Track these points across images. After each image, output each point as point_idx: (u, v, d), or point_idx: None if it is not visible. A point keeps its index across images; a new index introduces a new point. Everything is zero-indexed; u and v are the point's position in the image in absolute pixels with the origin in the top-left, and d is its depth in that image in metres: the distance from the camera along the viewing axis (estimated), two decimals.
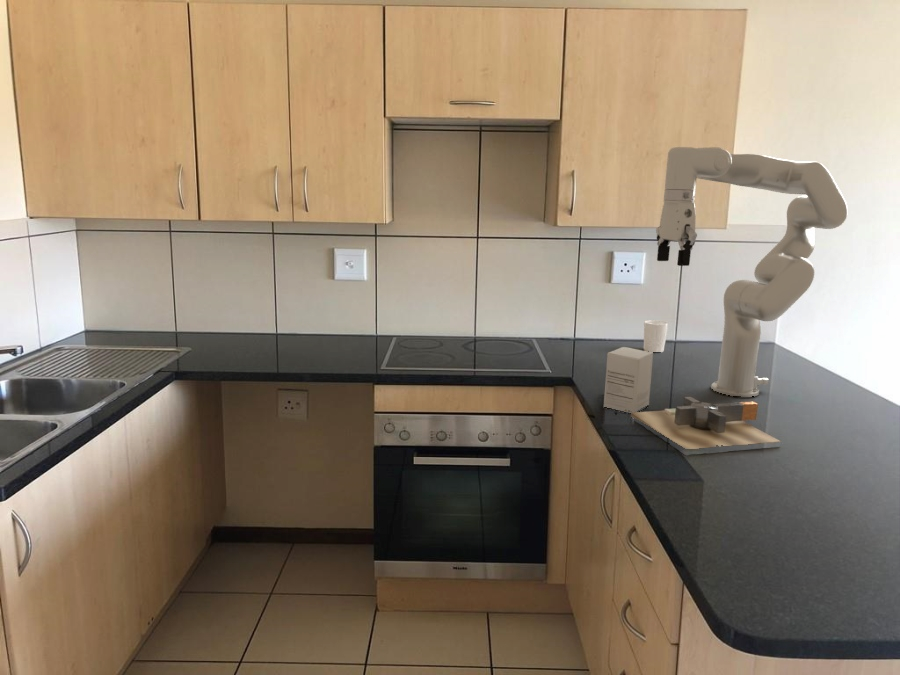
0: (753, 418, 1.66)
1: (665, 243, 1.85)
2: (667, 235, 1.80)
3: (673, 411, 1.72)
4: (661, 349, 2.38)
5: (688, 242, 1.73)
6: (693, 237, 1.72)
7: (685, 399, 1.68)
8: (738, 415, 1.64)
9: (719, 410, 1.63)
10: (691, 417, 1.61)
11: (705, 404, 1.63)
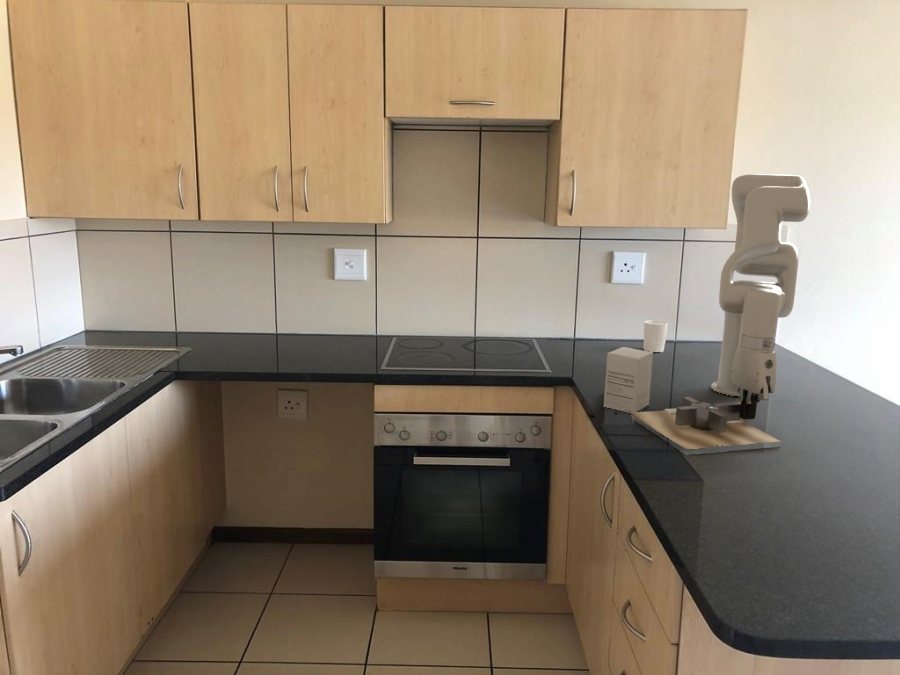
0: None
1: None
2: (742, 384, 1.61)
3: (673, 411, 1.72)
4: (661, 349, 2.38)
5: (755, 397, 1.58)
6: None
7: (684, 399, 1.68)
8: (737, 414, 1.65)
9: (719, 410, 1.63)
10: (691, 417, 1.61)
11: (705, 404, 1.64)
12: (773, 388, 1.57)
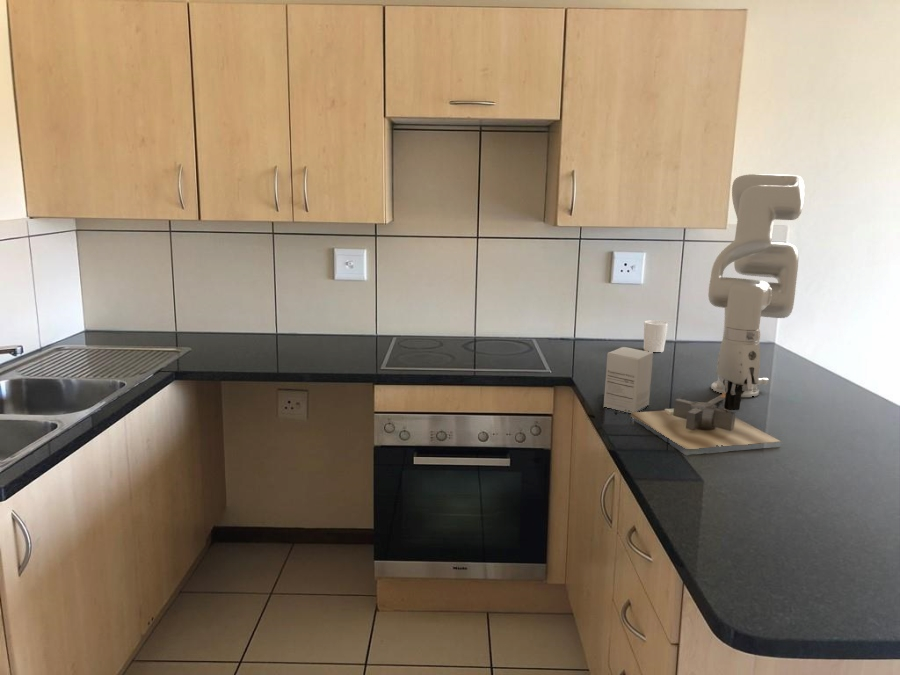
0: None
1: None
2: (727, 375, 1.65)
3: (673, 411, 1.72)
4: (661, 349, 2.38)
5: (740, 388, 1.63)
6: (746, 390, 1.62)
7: (677, 402, 1.66)
8: (722, 409, 1.69)
9: None
10: (699, 419, 1.59)
11: (702, 404, 1.64)
12: (757, 380, 1.61)
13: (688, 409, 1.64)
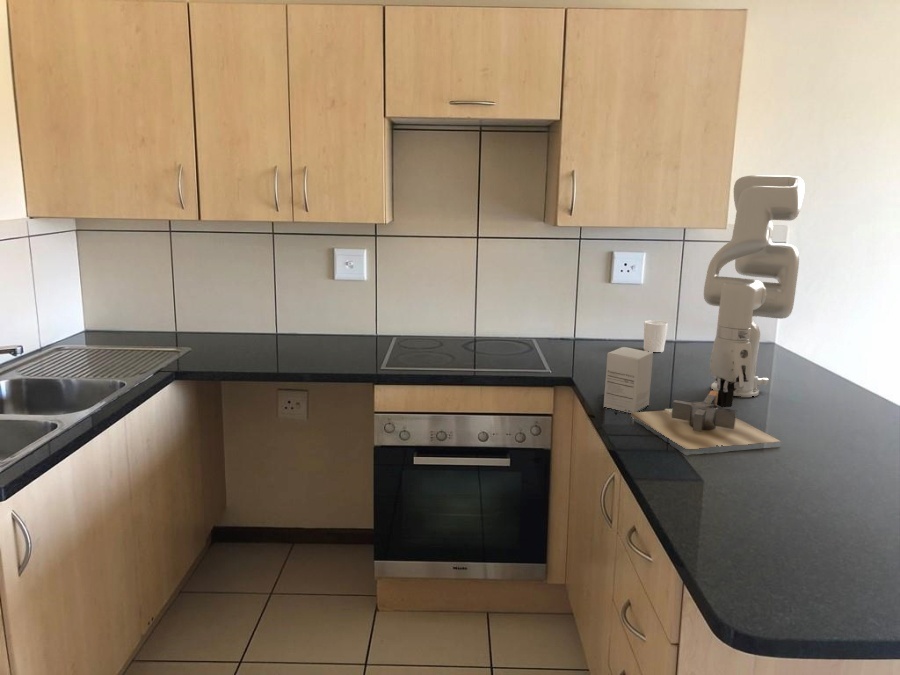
0: (716, 406, 1.74)
1: None
2: (719, 373, 1.68)
3: None
4: (661, 349, 2.38)
5: (732, 385, 1.66)
6: None
7: (675, 403, 1.65)
8: None
9: None
10: (704, 420, 1.59)
11: (700, 404, 1.64)
12: (749, 377, 1.64)
13: (688, 410, 1.63)
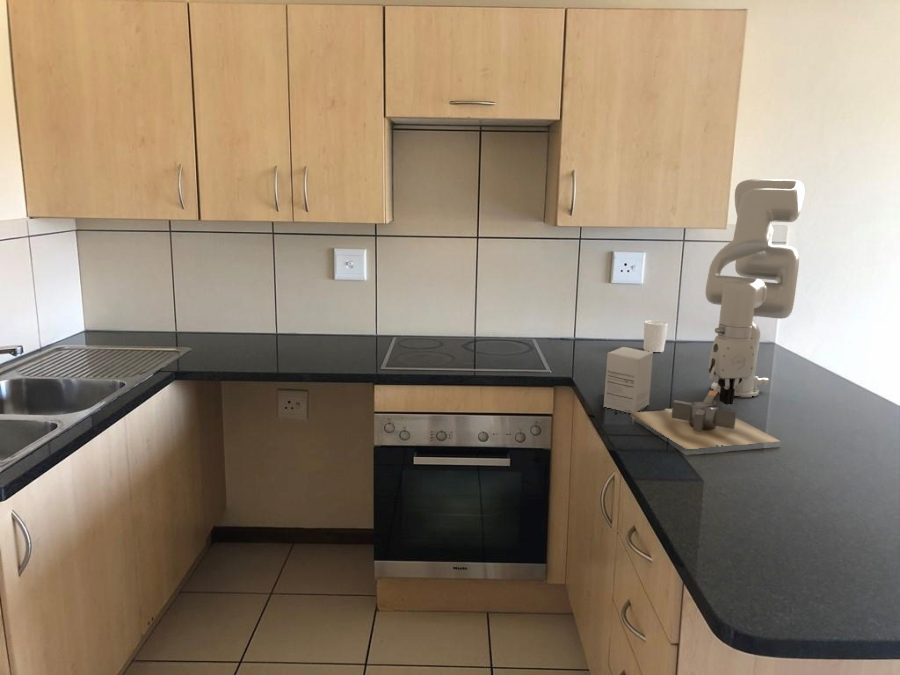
0: None
1: (731, 383, 1.73)
2: None
3: None
4: (661, 349, 2.38)
5: None
6: (711, 380, 1.72)
7: (675, 403, 1.65)
8: None
9: None
10: (704, 420, 1.59)
11: (700, 404, 1.64)
12: (717, 373, 1.69)
13: (688, 410, 1.63)
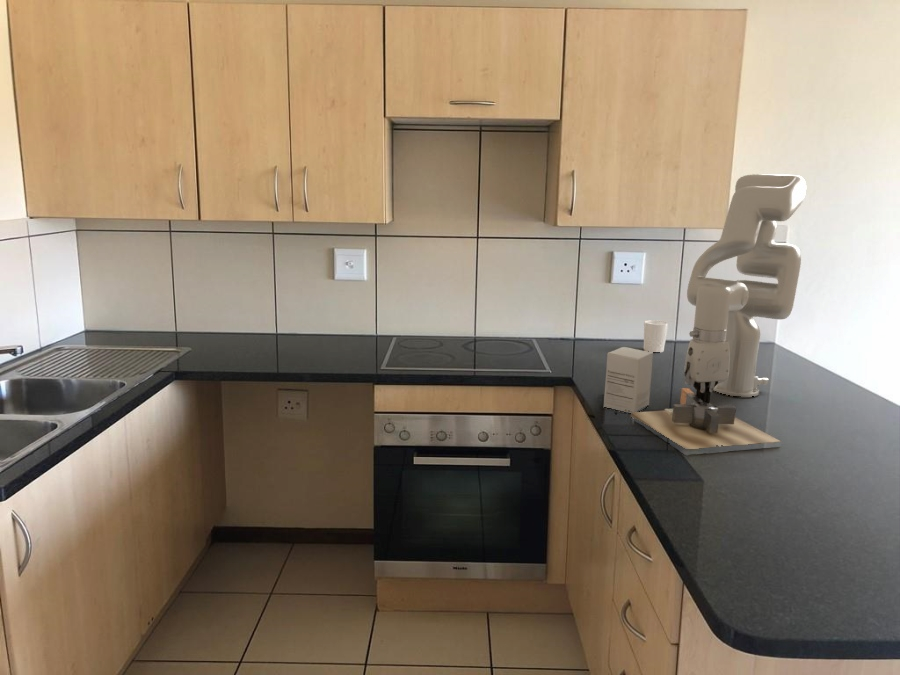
0: None
1: (707, 386, 1.72)
2: None
3: None
4: (661, 349, 2.38)
5: None
6: (687, 384, 1.71)
7: (678, 408, 1.61)
8: None
9: None
10: None
11: (698, 404, 1.63)
12: (692, 376, 1.68)
13: (690, 413, 1.62)
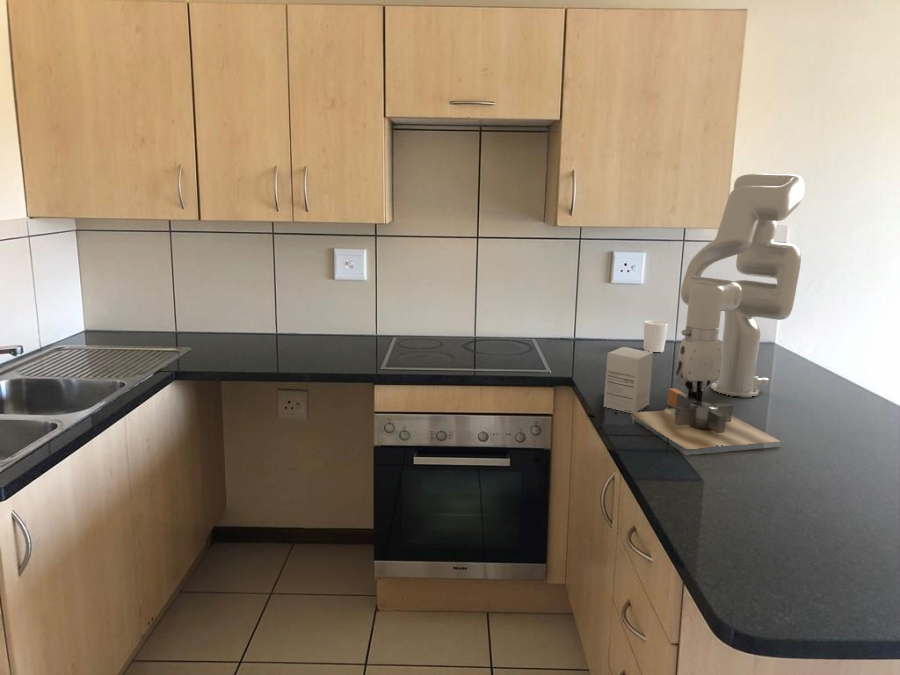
0: None
1: (699, 385, 1.71)
2: None
3: (673, 411, 1.72)
4: (661, 349, 2.38)
5: None
6: (679, 383, 1.70)
7: (682, 410, 1.60)
8: None
9: None
10: None
11: (698, 405, 1.63)
12: (684, 375, 1.67)
13: (693, 414, 1.61)
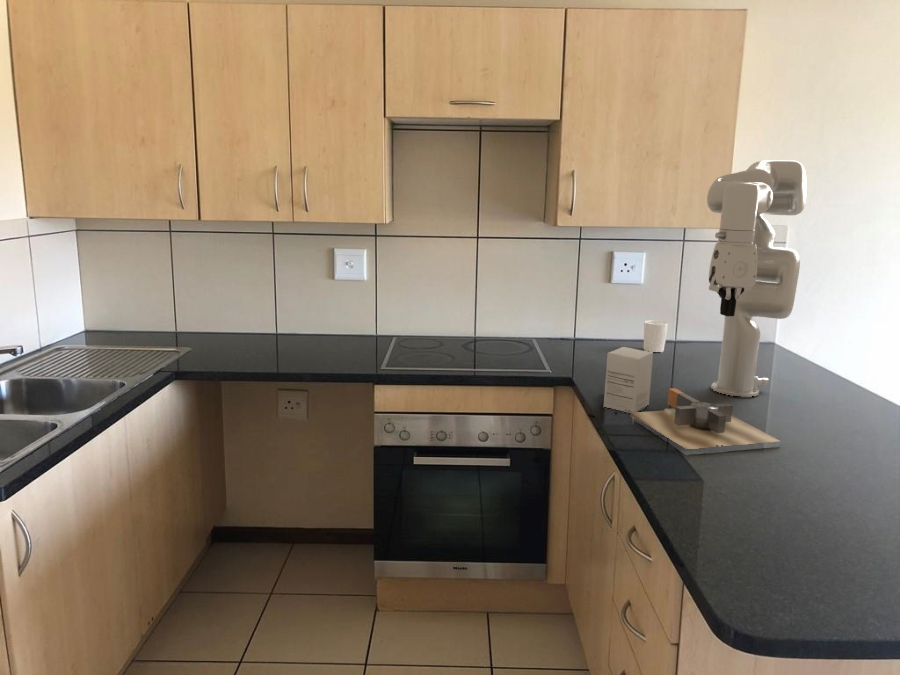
0: None
1: (733, 293, 1.63)
2: None
3: (673, 411, 1.72)
4: (661, 349, 2.38)
5: None
6: (712, 290, 1.62)
7: (682, 410, 1.60)
8: None
9: None
10: None
11: (698, 405, 1.63)
12: (718, 280, 1.59)
13: (693, 414, 1.61)
